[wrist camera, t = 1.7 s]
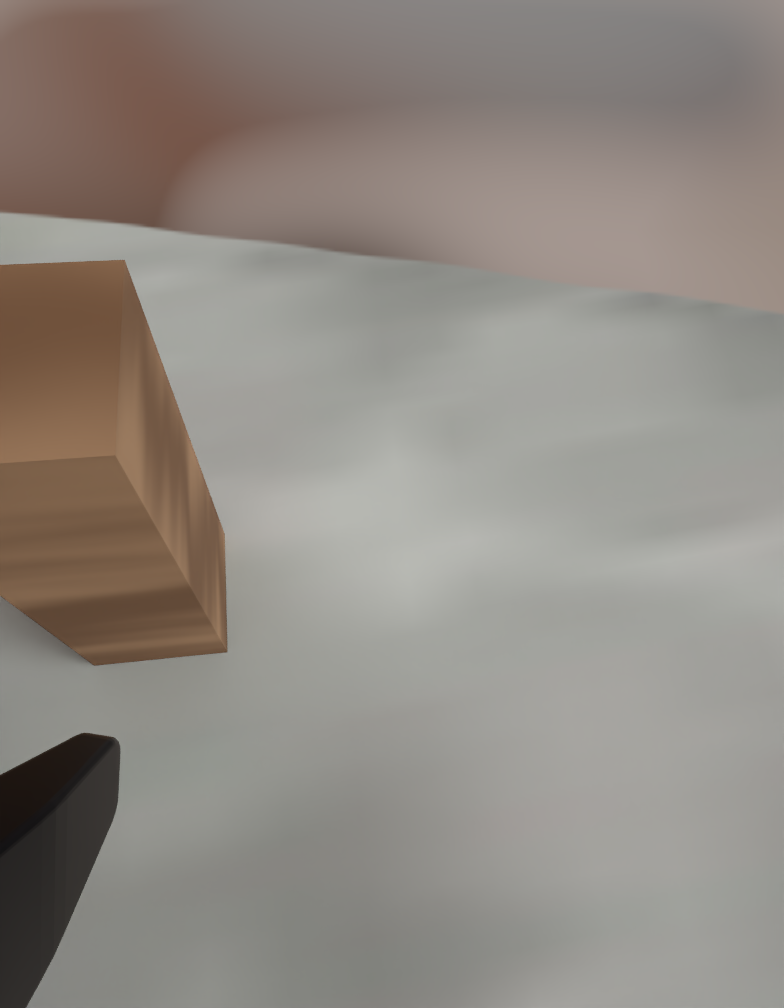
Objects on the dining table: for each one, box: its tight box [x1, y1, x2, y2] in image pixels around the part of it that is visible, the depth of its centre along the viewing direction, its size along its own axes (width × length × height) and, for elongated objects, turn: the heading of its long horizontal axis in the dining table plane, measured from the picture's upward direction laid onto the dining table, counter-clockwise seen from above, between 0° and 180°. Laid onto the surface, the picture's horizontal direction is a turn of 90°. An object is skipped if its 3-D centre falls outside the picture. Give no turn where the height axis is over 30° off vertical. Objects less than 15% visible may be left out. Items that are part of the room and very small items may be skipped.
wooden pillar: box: [0, 260, 227, 665], centre depth 17 cm, size 4×4×12 cm
